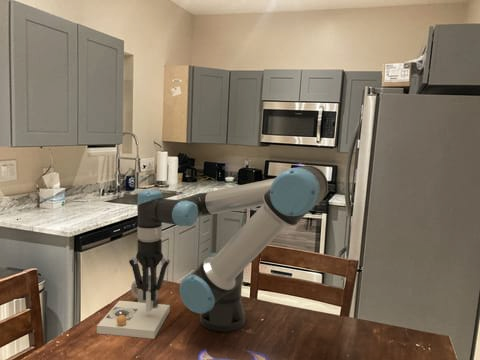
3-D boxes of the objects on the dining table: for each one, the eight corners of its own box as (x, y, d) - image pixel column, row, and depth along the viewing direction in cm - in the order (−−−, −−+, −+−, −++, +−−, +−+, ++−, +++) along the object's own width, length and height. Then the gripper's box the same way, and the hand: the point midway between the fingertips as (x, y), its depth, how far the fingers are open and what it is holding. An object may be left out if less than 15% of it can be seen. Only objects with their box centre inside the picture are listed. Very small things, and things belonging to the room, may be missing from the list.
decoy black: (159, 304, 140) (159, 296, 140) (156, 308, 137) (157, 300, 137) (150, 304, 140) (151, 295, 140) (148, 307, 137) (148, 299, 137)
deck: (169, 311, 141) (169, 305, 140) (154, 338, 123) (154, 330, 122) (119, 307, 142) (119, 300, 142) (96, 333, 124) (96, 325, 124)
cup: (153, 307, 143) (154, 283, 142) (126, 304, 145) (127, 280, 143) (160, 299, 150) (161, 276, 149) (135, 296, 152) (135, 273, 150)
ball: (115, 314, 134) (125, 319, 135) (111, 320, 131) (121, 325, 131) (119, 306, 134) (129, 311, 134) (115, 311, 130) (125, 316, 130)
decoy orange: (128, 322, 127) (128, 313, 126) (124, 327, 124) (124, 318, 123) (118, 321, 127) (118, 312, 126) (114, 326, 124) (115, 317, 124)
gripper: (172, 236, 132) (172, 305, 135) (133, 234, 132) (133, 303, 135) (166, 243, 124) (166, 316, 127) (125, 241, 125) (125, 313, 128)
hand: (149, 309), depth 131 cm, fingers closed
